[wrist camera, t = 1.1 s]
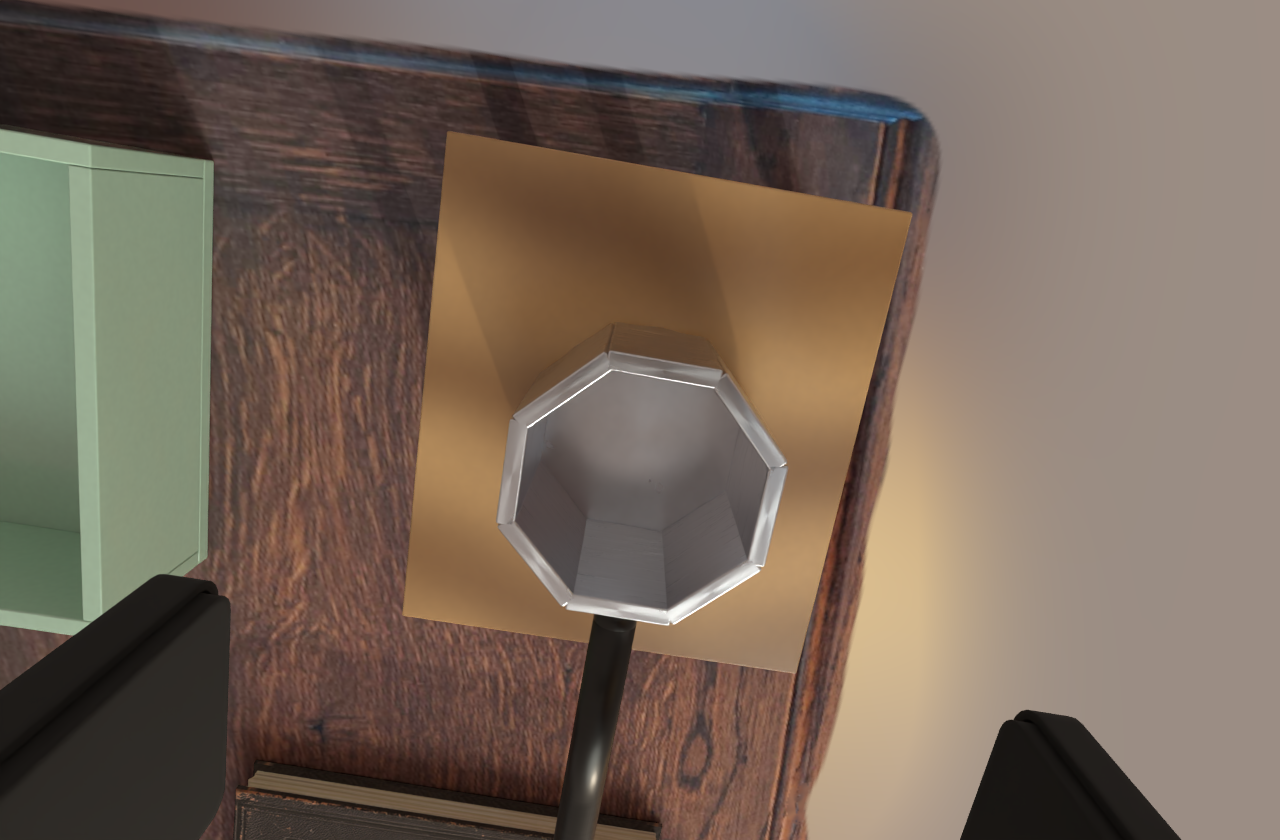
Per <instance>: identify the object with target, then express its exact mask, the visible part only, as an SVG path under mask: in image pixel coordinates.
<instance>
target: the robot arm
mask: <svg viewBox="0 0 1280 840" xmlns="http://www.w3.org/2000/svg"><path fill="white" fill-rule="evenodd" d="M230 613H231V609H230V602H229V599H228V598H227V597H225V596H219V595H218V590H217V587H216V585H215V584H214V583H213V582H211V581H206V580H200V579H194V578H187V577H181V576H175V575H168V574H158V575H156V576H154V577H152V578H151V579H149V580H148V581H147V582H145V583H144V584H142V585H141V586H140V587H138V588H137V589H136V590H134V591H133V592H132V593H130V594H129V595H128V596H126V597H125V598H124V599H122V600H121V601H120V602H118V603H117V604H116V605H114V606H113V607H112V608H110V609H109V610H108V611H106V612H105V613H103V614H102V615H101V616H99V617H98V618H97V619H95V620H94V621H93V622H91V623H90V624H89V625H87V626H86V627H85V628H83V629H82V630H81V631H79V632H78V633H77V634H75V635H74V636H73V637H71V638H70V639H69V640H67V641H66V642H64V643H63V644H62V645H60V646H59V647H58V648H56V649H55V650H54V651H52V652H51V653H50V654H48V655H47V656H46V657H44V658H43V659H42V660H40V661H39V662H38V663H36V664H35V665H34V666H32V667H31V668H30V669H28V670H27V671H25V672H24V673H23V674H21V675H20V676H19V677H17V678H16V679H15V680H13V681H12V682H11V683H9V684H8V685H7V686H5V687H4V688H3V689H1V690H0V840H199V839H200V837H201V836H202V834H203V833H204V831H205V830H206V829H207V827H208V826H209V824H210V823H211V821H212V820H213V818H214V817H215V815H216V813H217V811H218V809H219V806H220V803H221V801H222V798H223V794H224V790H225V778H226V745H227V712H228V679H229V646H230ZM960 840H1181V839H1180V838H1179V836H1178V835H1177V834H1176V833H1175V832H1174V831H1173V830H1172V829H1171V827H1170V826H1169V825H1168V824H1167V823H1166V821H1165V820H1164V819H1163V818H1162V817H1161V815H1160V814H1159V813H1158V812H1157V811H1156V810H1155V808H1154V807H1153V806H1152V805H1151V804H1150V803H1149V801H1148V800H1147V799H1146V798H1145V797H1144V796H1143V794H1142V793H1141V792H1140V791H1139V790H1138V789H1137V787H1136V786H1135V785H1134V784H1133V783H1132V782H1131V781H1130V779H1128V777H1127V776H1126V775H1125V773H1124V772H1123V771H1122V770H1121V769H1120V768H1119V766H1118V765H1117V764H1116V763H1115V762H1114V761H1113V759H1112V758H1111V757H1110V756H1109V755H1108V753H1107V752H1106V751H1105V750H1104V749H1103V748H1102V747H1101V746H1100V744H1099V743H1098V742H1097V741H1096V740H1095V739H1094V737H1093V736H1092V735H1091V734H1090V732H1089V731H1088V730H1087V729H1086V728H1085V727H1084V725H1082V724H1081V723H1080V722H1079V721H1078V720H1077V719H1076V718H1072V717H1069V716H1063V715H1056V714H1051V713H1044V712H1038V711H1031V710H1024V711H1021V712H1020V713H1019V714H1017V715H1016V717H1015V718H1014V720H1008V721H1006V722H1004V724H1003V725H1002V726H1001V728H1000V730H999V733H998V736H997V739H996V741H995V744H994V747H993V750H992V752H991V755H990V758H989V761H988V764H987V766H986V769H985V772H984V775H983V777H982V780H981V783H980V786H979V788H978V791H977V794H976V797H975V800H974V802H973V805H972V808H971V811H970V813H969V816H968V819H967V822H966V825H965V827H964V830H963V833H962V836H961V838H960Z"/></svg>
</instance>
